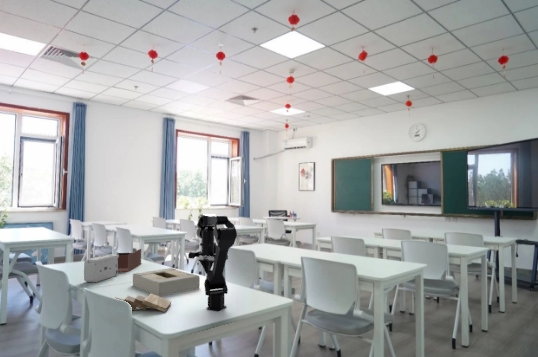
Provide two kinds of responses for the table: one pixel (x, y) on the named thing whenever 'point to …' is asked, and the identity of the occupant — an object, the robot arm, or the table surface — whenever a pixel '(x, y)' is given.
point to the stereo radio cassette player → (100, 267)
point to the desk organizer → (129, 261)
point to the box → (165, 281)
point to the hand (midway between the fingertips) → (207, 274)
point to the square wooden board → (157, 302)
